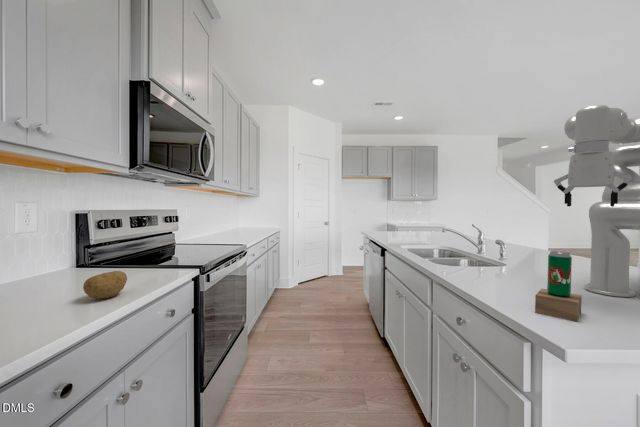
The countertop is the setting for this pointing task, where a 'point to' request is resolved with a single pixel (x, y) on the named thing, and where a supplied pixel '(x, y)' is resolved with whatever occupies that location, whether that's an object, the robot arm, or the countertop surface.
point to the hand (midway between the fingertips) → (589, 206)
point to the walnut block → (558, 305)
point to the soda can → (559, 274)
